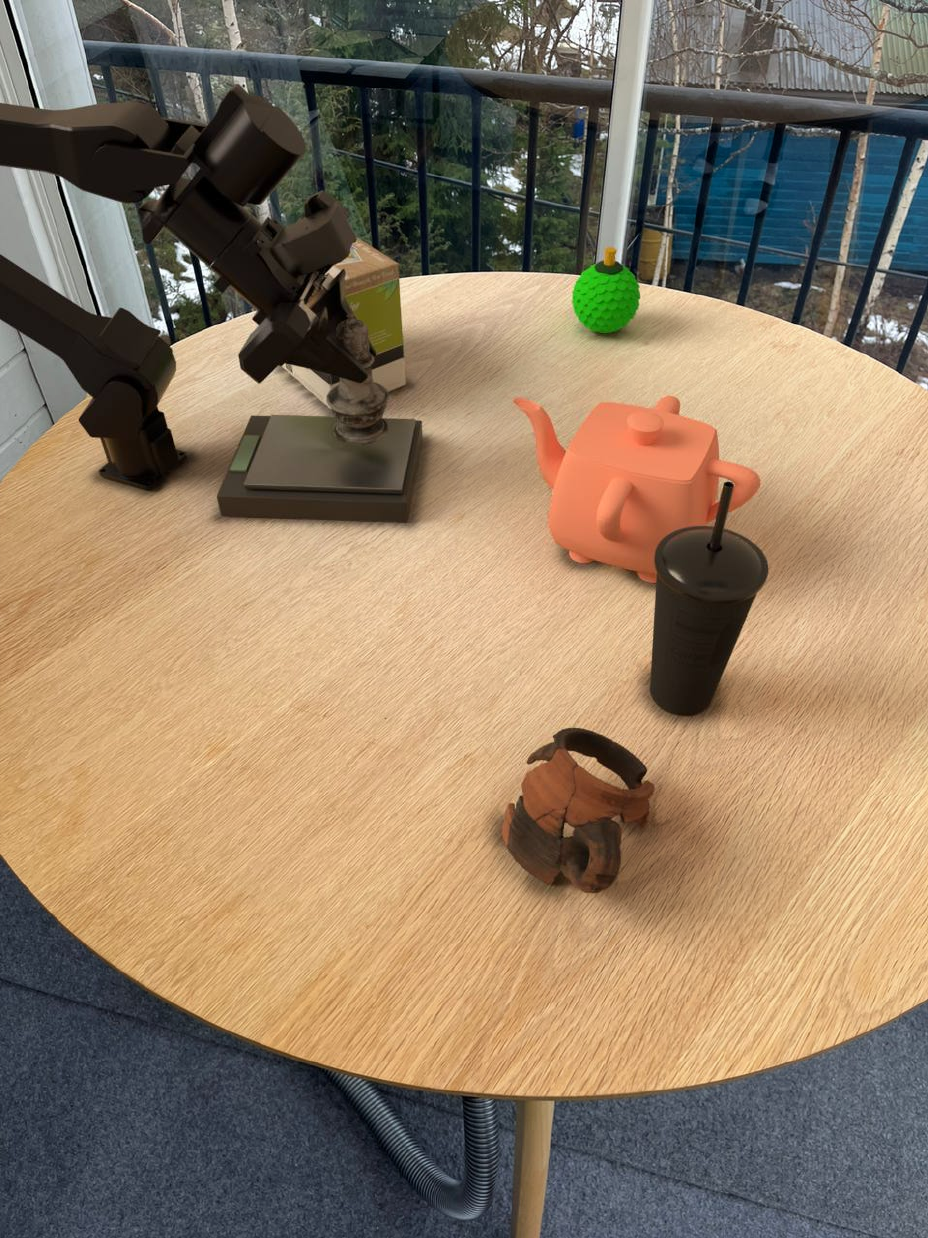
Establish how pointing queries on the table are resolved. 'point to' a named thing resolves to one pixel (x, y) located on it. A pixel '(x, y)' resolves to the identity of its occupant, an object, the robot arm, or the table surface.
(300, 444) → the scale pan
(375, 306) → the tea box
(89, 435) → the robot arm
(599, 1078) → the table surface
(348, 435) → the chess piece
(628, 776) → the pottery mug
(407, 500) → the scale
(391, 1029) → the table surface
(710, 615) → the drinking cup
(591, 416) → the teapot
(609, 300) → the ornament
